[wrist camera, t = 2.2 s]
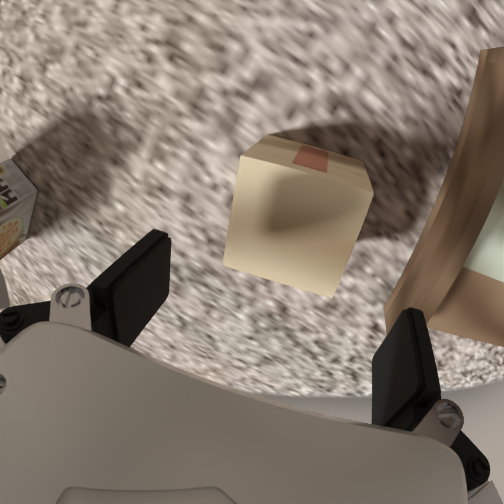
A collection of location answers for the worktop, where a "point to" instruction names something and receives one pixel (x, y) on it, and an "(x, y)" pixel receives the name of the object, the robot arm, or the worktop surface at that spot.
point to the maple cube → (296, 214)
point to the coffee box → (14, 206)
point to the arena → (465, 226)
